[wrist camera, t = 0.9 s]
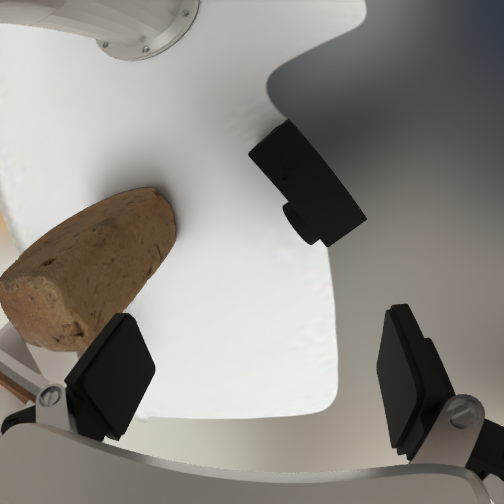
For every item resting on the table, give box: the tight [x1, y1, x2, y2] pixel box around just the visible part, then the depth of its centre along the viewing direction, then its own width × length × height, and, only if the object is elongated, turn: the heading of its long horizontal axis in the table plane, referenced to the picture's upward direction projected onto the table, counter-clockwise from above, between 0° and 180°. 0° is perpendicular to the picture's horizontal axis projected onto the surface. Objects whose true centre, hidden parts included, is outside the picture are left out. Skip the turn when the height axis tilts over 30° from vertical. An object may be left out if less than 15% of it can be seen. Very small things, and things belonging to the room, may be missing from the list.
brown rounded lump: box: [0, 187, 176, 352], centre depth 24 cm, size 11×8×20 cm
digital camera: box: [248, 119, 367, 247], centre depth 26 cm, size 10×5×7 cm, turn 42°
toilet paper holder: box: [0, 321, 86, 430], centre depth 26 cm, size 11×11×35 cm
